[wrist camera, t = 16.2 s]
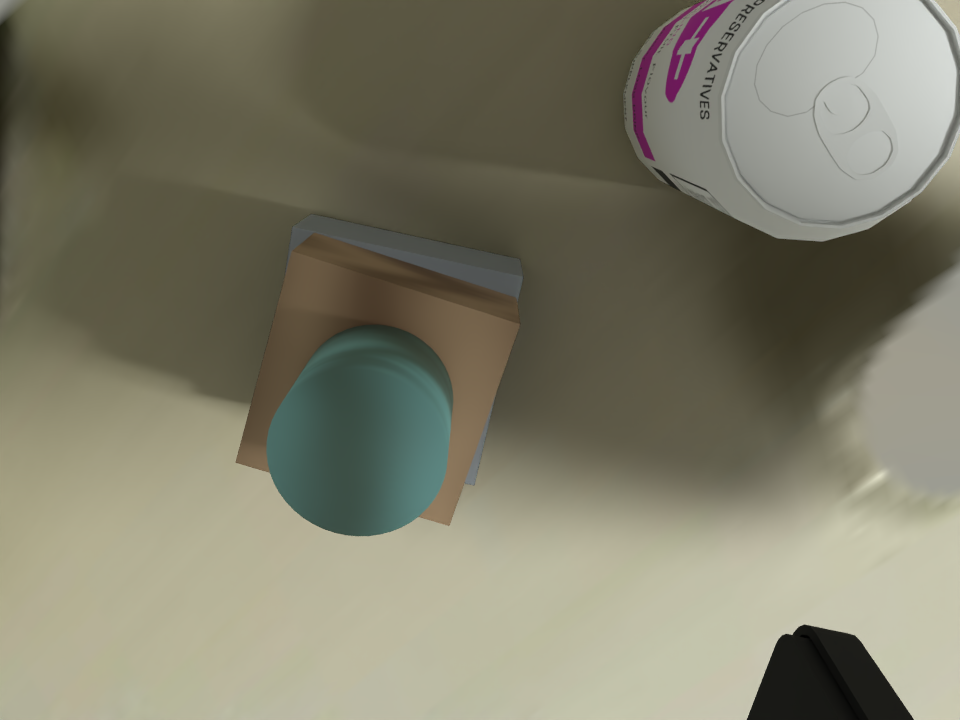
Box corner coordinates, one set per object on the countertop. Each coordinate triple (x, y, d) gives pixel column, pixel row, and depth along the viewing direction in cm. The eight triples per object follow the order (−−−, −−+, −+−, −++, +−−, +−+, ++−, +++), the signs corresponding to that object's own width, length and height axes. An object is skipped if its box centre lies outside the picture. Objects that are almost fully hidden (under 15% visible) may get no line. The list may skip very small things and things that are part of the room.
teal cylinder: (464, 338, 33) (461, 385, 28) (440, 479, 35) (433, 548, 30) (308, 312, 33) (275, 355, 28) (292, 456, 35) (258, 521, 29)
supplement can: (585, 80, 39) (642, 73, 24) (745, -38, 37) (907, -121, 23) (681, 228, 40) (789, 303, 26) (838, 121, 39) (1042, 137, 25)
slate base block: (519, 257, 41) (523, 277, 37) (475, 447, 44) (474, 485, 40) (312, 212, 41) (292, 227, 36) (281, 407, 44) (259, 442, 39)
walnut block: (516, 297, 37) (520, 324, 33) (453, 479, 40) (449, 525, 36) (314, 232, 37) (291, 251, 32) (262, 421, 39) (235, 462, 35)
